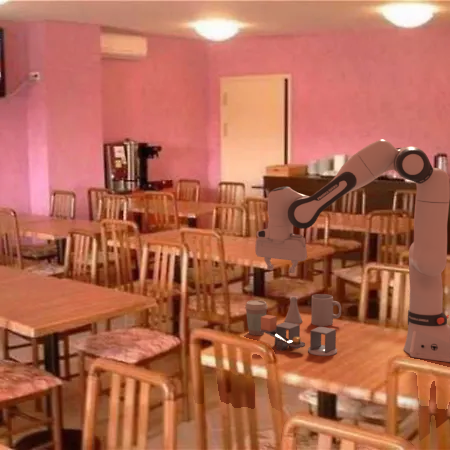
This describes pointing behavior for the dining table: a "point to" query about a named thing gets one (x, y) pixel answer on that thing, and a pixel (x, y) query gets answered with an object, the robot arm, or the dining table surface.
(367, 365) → the dining table surface
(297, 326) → the hood
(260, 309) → the coffee cup
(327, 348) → the hood
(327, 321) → the mug
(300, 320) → the flask
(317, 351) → the saucer
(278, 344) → the balance
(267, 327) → the block
